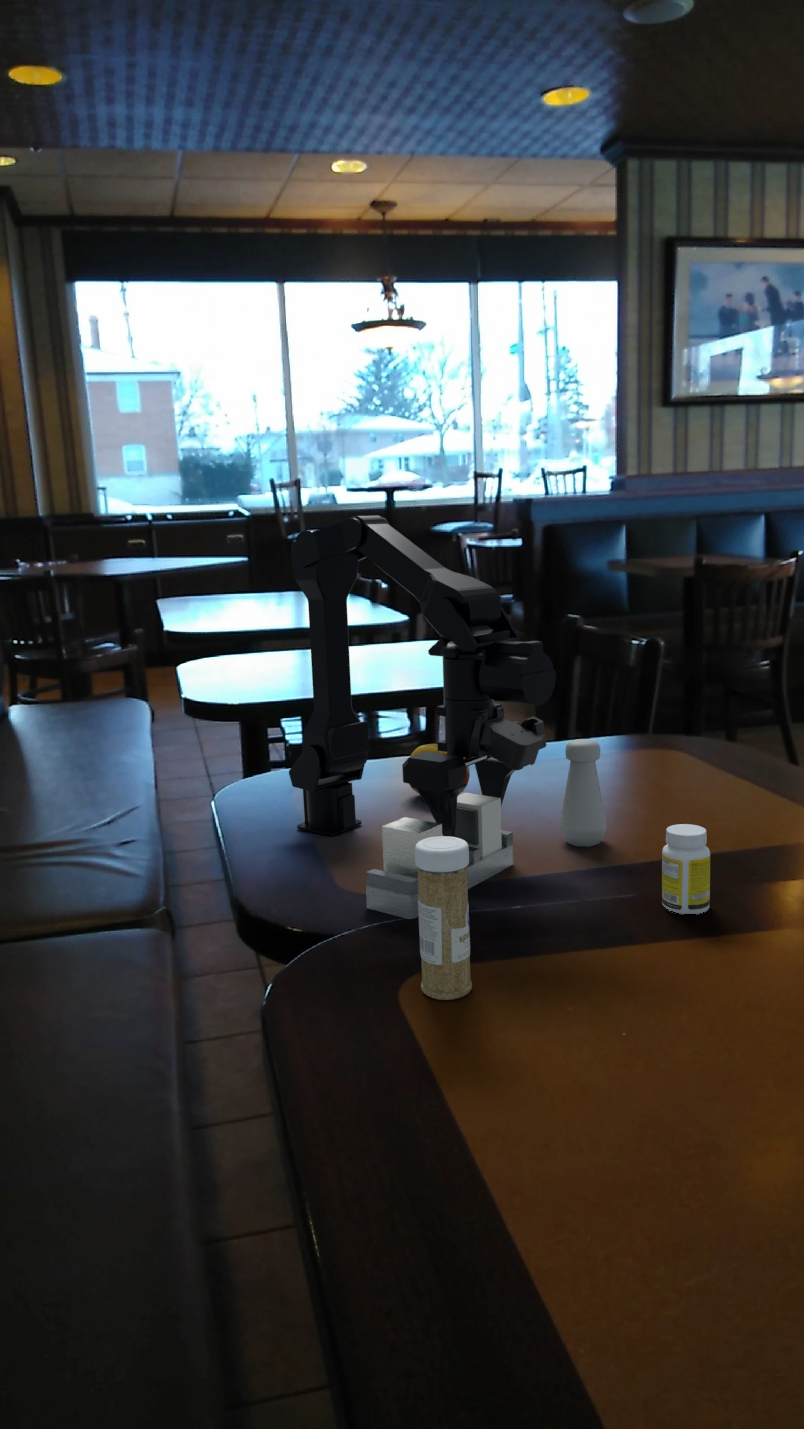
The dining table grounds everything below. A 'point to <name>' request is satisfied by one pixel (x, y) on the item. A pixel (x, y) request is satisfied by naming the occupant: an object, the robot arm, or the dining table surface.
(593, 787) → the salt shaker
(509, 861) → the rail
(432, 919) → the spice jar
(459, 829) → the matte gray box
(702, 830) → the supplement bottle
